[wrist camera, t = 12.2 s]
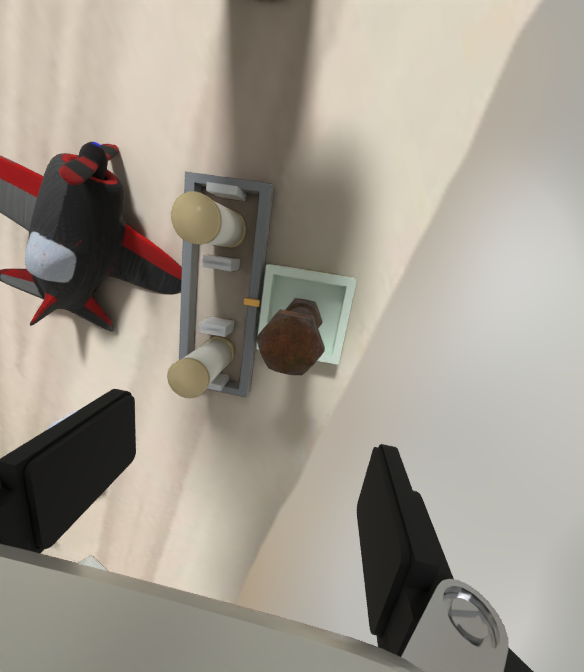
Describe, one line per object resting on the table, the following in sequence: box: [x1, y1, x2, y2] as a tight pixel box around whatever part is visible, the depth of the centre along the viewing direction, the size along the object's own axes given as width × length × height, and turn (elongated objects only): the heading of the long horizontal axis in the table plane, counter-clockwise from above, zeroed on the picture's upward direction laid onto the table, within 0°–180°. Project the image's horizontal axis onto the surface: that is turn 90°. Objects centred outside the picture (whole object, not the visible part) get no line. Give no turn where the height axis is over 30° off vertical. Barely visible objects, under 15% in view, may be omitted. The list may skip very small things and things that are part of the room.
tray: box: [256, 264, 357, 365], centre depth 36 cm, size 11×11×3 cm
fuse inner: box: [171, 191, 247, 248], centre depth 31 cm, size 5×5×10 cm
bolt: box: [256, 298, 325, 375], centre depth 29 cm, size 6×5×15 cm
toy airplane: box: [0, 142, 182, 331], centre depth 34 cm, size 28×24×15 cm
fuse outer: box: [167, 336, 235, 398], centre depth 36 cm, size 5×5×10 cm
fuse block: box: [179, 172, 274, 397], centre depth 36 cm, size 11×28×4 cm, turn 171°
